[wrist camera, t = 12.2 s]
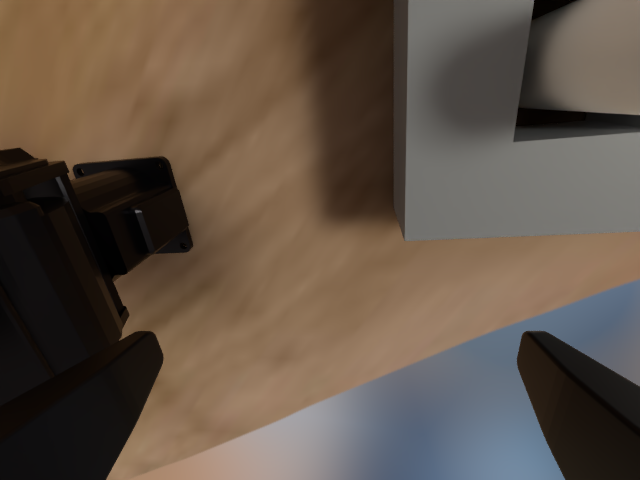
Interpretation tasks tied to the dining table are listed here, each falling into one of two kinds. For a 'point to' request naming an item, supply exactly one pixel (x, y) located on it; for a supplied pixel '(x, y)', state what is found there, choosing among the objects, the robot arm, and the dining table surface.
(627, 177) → the socket block
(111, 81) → the dining table surface
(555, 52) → the peg
